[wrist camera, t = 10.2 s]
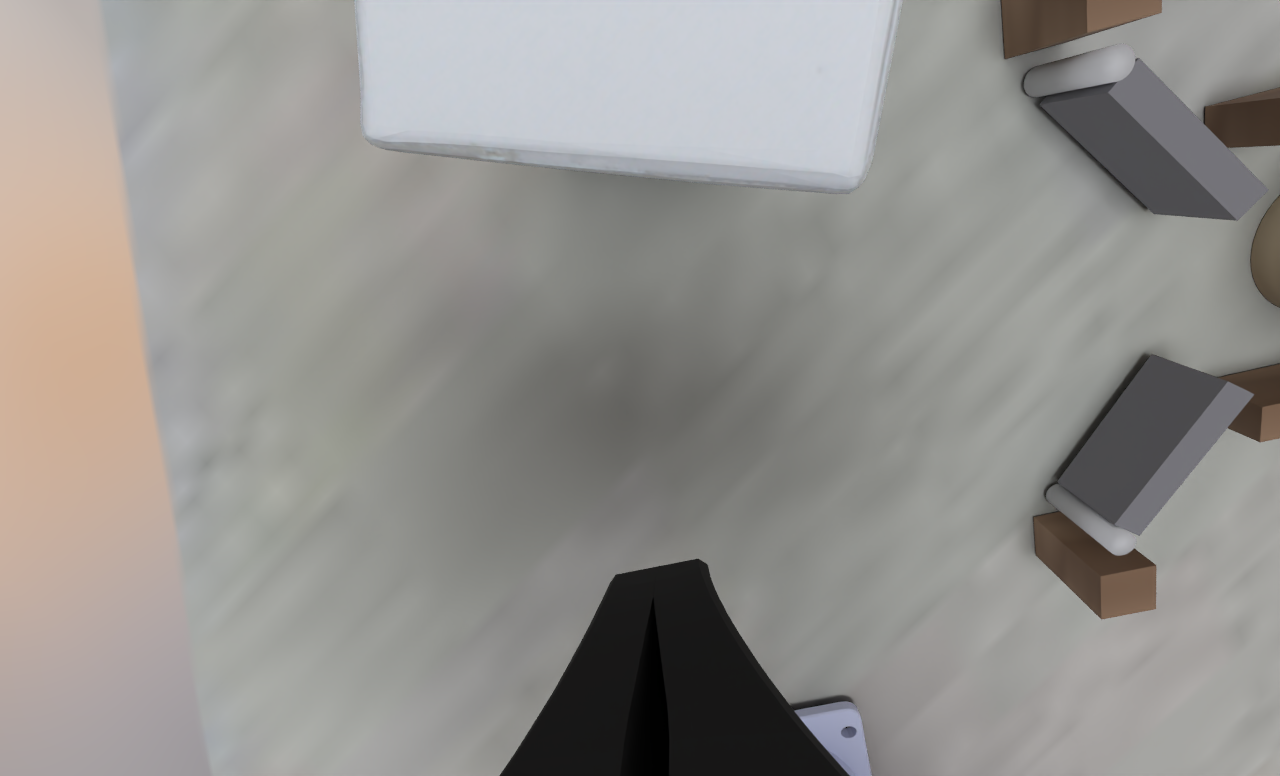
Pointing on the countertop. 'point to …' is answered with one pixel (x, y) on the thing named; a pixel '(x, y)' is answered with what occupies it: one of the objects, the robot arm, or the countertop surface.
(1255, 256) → the peg
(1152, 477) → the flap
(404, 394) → the countertop surface
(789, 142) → the skincare box
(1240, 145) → the bay
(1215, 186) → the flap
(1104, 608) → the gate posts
